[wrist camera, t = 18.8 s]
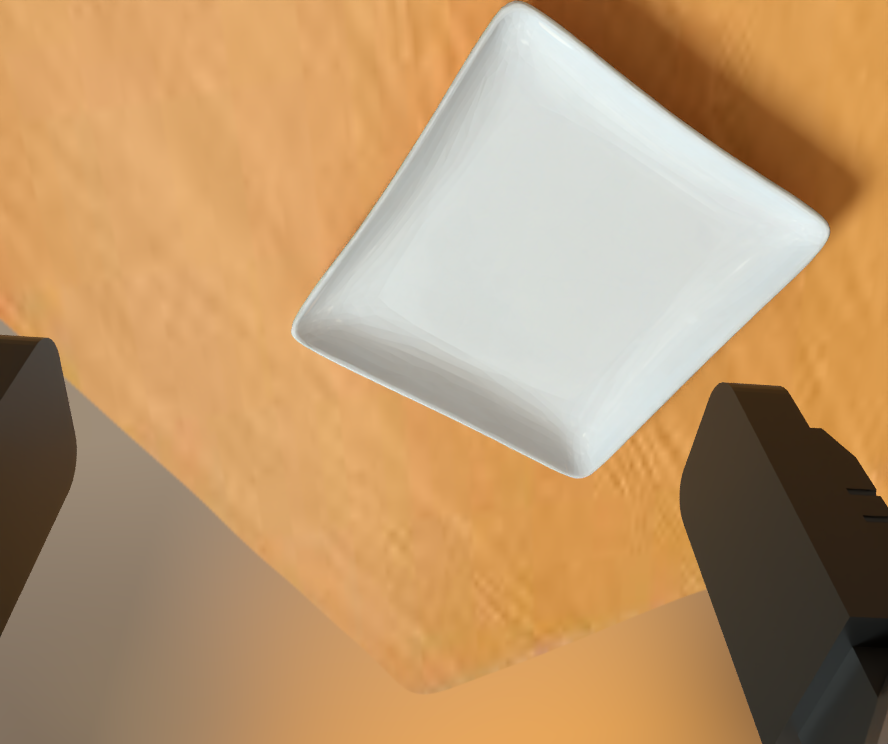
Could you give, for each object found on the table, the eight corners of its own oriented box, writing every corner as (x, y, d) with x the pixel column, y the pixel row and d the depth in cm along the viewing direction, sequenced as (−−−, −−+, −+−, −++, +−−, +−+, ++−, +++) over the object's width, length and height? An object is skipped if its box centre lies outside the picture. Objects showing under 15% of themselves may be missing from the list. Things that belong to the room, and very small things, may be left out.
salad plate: (576, 454, 56) (585, 490, 53) (288, 308, 48) (281, 341, 46) (819, 204, 46) (846, 233, 43) (502, -28, 38) (509, -11, 36)
